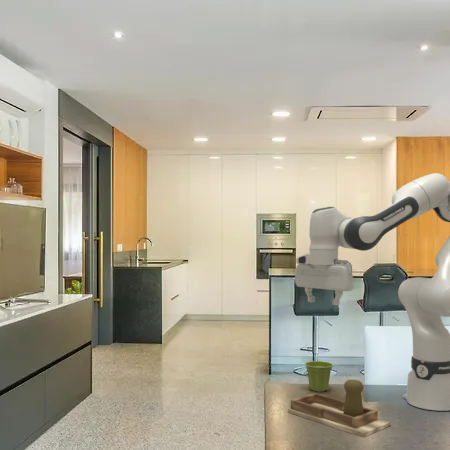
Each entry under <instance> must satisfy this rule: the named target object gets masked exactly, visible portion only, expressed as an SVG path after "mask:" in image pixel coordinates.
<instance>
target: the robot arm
mask: <svg viewBox="0 0 450 450" xmlns="http://www.w3.org/2000/svg"><path fill="white" fill-rule="evenodd" d="M432 210H433V211H434V212H435V214H436V216H437V217H438V218H439V219H440V220H441V221H444V222H446V223H450V181H449V179H448V178H447V177H446V176H445V175H444V174H441V173H438V172H434V173H431V174H430V173H429V174H426V175H422V176H421V177H418V178H416V179H413V180H411V181H410V182H408V183H406V184H404V185H403V186H401V187H400V188H398V189H397V190H396V191H395V192H394V193H393V194H392V197H391V205H390V206H388V207H387V208H384V209H383V210H381V211H378V213H376V214H373V215H366V216H365V215H364V216H359V217H351V216H349V215H347V214H344V213H342V212H341V211H340V210H338V209H337V208H336V207H335V206H327V207H321V208H316V209H314V210H313V211H312V212H311V214H310V219H309V229H308V230H309V232H308V233H309V234H308V235H309V239H310V245H309V248H308V249H309V250H308V253H306V254H303V255H299V256H297V257H296V260H295V261H296V264H297V265H296V267H295V273H294V283H295V285H296V287H298V288H304V292H305V294H306V295H307V296H306V297H307V302H308V303H315V302H316V296H314V295H313V293H312V291H313V289H316V290H317V289H319V290H327V291H328V290H329V291H334V294H335V297H334V298H333V299H331V302H332V306H340V300H341V298H342V296H343V294H344V292H351V291H352V290H353V289H354V277H353V264H352V263H351V262H350V261H348V260H347V259H343V260H342V259H339V247H341V248H343V249H349V250H350V249H353V250H358V251H369V250H371V249H373V248H374V247H376V246H377V244H379V242H380V241H381V239H383V237H384V236H385V235H386V234H388V232H390V231H392V230H393V229H395V228H397V227H398V226H400V225H402V224H403V223H406V222H407V221H409V220H412V219H414V218H415V219H416V218H417V217H420V216H422V215H425V214H427V212H430V211H432ZM435 255H436V256H435V259H434V262H435V265H436V266H437V268H436V271H435V274H434V276H432V277H431V278H429V277H422V276H421V277H420V276H417V277H411V278H407V279H405V280H403V281H402V282H401V284H400V285H399V286H398V287H399V288H398V290H397V293H398V294H397V295H398V299H399V301H400V303H401V304H402V305H403V307H404V309H405V311H406V313H407V316H408V321H409V323H410V327H411V332H412V334H411V335H412V356H411V359H410V364H411V366H410V367H411V371H409V372H408V374H407V384H406V393H403V395H402V398H403V399H405V400H406V401H407V403H408V404H409V405H411V406H413V407H416V408H419V409H424V410H429V411H445V412H447V411H448V412H449V411H450V331H449V330H448V329H447V328H446V327H445V325H444V323H443V319H442V318H441V317H444V318H445V317H447V318H448V317H450V235H449V236H448V237H447V239H446V240H445V242H444V243H443V245H442V246H441V248H440V249H439V251H438V253H437V254H435Z"/></svg>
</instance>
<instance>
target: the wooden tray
mask: <svg viewBox="0 0 450 450" xmlns="http://www.w3.org/2000/svg"><path fill="white" fill-rule="evenodd" d="M344 404H345V400H341V399H338V398H335V397H331V396H327V395H324V394H321V393H317V392H314V393H309V394H307V395H303V396H301V397H297V398H293V399H290V407H289V408H288V409H287V413H289V414H292V415H293V416H294V415H295V416H298V417H301V418H303V419H307V420H310V421H313V422H316V423H318V424H319V423H320V424H322V425H326V426H328V427H331V428H335V429H337V430H341V431H344V432H346V433H350V434H353V435H356V436H359V437H362V438H365V437H367V436H370V435H372V434H375V433H377V432H379V431H382V430H383V429H386V428H389V427H390V426H391V425H392V424H391V423H392V422H391V421H388V420H385V419H382V418H378V415H379V414H378V413H379V412H378V410H375V409H372V408H368V407H365V406H363V411H364V414H362V415H359V416H356V417H352V416H349V415H346V414H343V412H344Z"/></svg>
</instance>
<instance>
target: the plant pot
mask: <svg viewBox="0 0 450 450" xmlns="http://www.w3.org/2000/svg"><path fill="white" fill-rule="evenodd" d="M304 366H305V369H306V370H307V378H308V385H309V390H311V391H314V392H316V391H317V392H319V393H321V392H322V393H323V392H325V390H326V392H327V391H329V384H330V378H331V373H332V372H331V371H332V369H333V367H334V364H333V363H331V362H328V361H323V360H322V361H321V360H311V361H306V362H304Z"/></svg>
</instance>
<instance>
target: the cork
mask: <svg viewBox="0 0 450 450" xmlns="http://www.w3.org/2000/svg"><path fill="white" fill-rule="evenodd" d="M343 388H344V391H345V398H344V401H345V404H344V412H343V414H346V415H349V416H352V417H356V416H359V415H362V414H364V411H363V407H364V405H363V396H362V393H363V392H364V384H363V382H362V381H360V380H357V379H348V380H345V382H344V383H343Z"/></svg>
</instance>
